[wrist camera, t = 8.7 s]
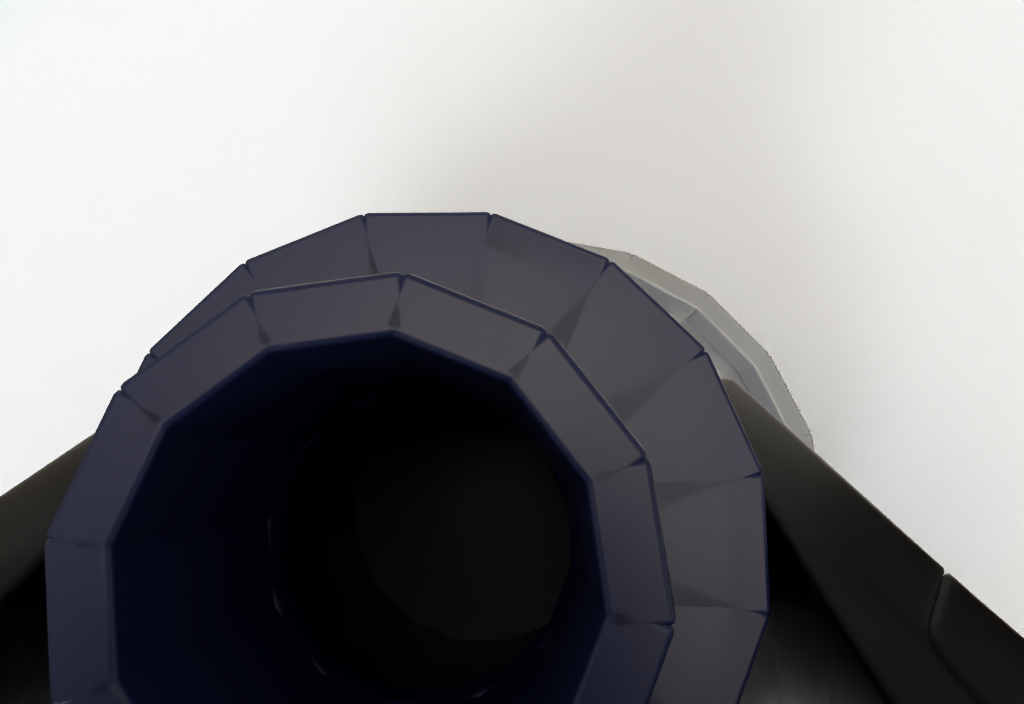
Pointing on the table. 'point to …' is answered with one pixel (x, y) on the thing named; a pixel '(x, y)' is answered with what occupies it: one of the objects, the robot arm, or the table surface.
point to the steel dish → (716, 337)
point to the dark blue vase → (414, 489)
